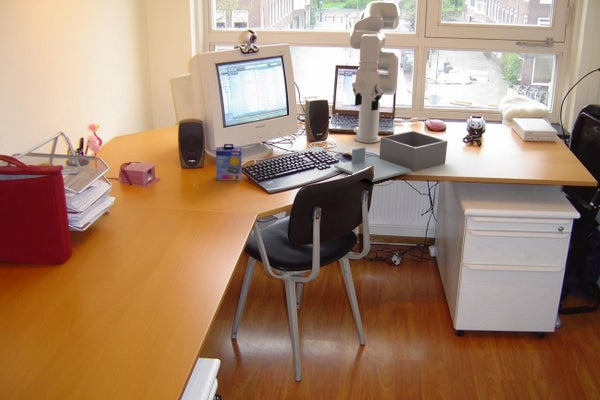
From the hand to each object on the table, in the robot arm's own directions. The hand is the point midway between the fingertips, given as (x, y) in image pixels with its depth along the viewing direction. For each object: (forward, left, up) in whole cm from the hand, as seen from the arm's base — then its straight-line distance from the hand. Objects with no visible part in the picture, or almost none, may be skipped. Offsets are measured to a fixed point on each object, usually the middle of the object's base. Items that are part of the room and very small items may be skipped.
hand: (366, 107), depth 273 cm
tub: (+9, +21, -25) cm, 34 cm away
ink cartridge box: (-17, -56, -25) cm, 64 cm away
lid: (+10, -4, -25) cm, 27 cm away
